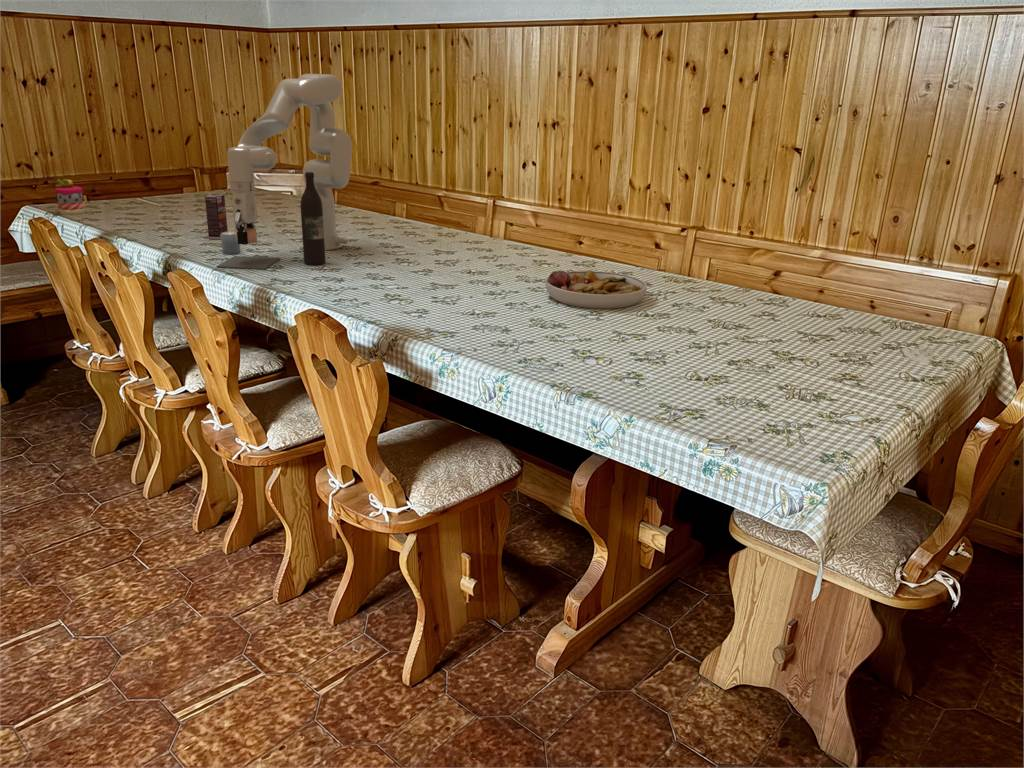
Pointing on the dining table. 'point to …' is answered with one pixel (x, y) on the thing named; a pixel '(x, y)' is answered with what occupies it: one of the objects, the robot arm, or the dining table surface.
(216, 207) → the supplement box
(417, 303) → the dining table surface
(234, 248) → the gray cylinder
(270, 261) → the mat
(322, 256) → the wine bottle
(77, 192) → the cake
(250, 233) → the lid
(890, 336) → the dining table surface
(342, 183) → the robot arm
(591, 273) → the bowl
